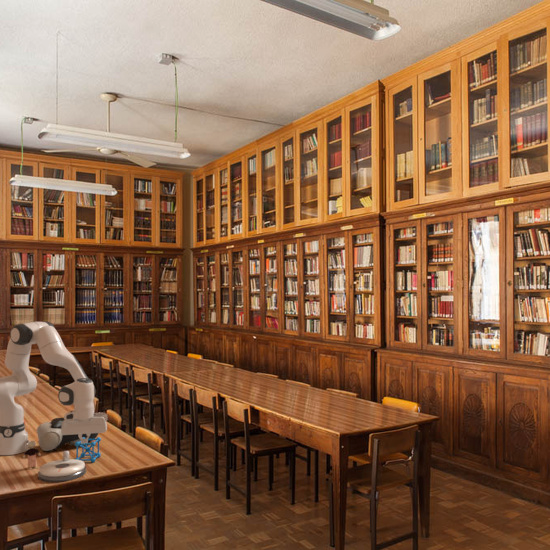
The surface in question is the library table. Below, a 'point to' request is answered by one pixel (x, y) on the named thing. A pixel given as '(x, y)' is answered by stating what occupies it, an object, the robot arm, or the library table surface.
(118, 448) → the library table surface
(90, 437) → the head bust
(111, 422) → the library table surface
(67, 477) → the turntable base
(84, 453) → the molecular structure
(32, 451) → the grandmother figurine
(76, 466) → the turntable
